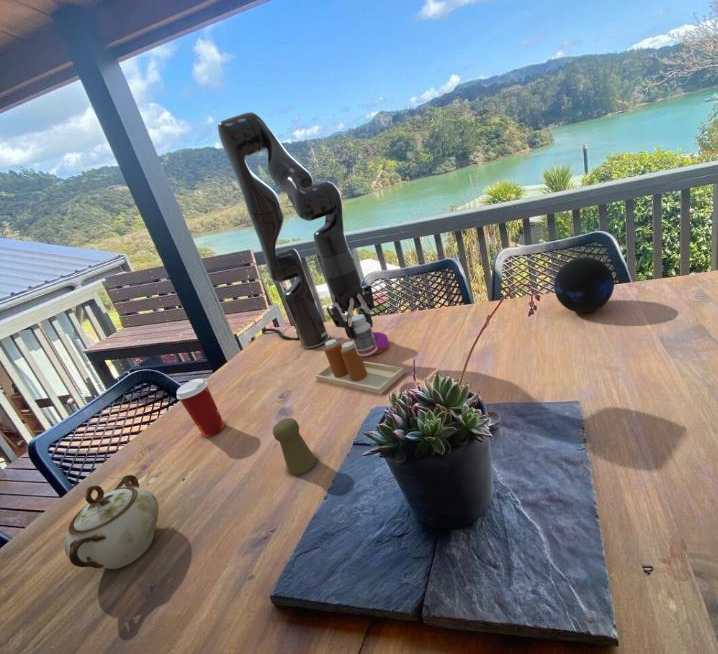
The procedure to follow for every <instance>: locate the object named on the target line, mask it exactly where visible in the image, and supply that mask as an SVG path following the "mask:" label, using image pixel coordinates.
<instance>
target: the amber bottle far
mask: <svg viewBox="0 0 718 654" xmlns="http://www.w3.org/2000/svg"><path fill="white" fill-rule="evenodd" d="M342 348H343V347H342V343H341V342H340V341H338V340H337V339H336V338H332V339H329V340H328V341H327V342H326V343H324V346H323V350H324V353H325V356H326V358H327V361H328V365H330V366H331V369H332V372H333V374H334V377H337V378H339V377H343V376H345V375H347V374H348V370H347V367H346V365H345V362H344V359H343V356H342V354H341V349H342Z"/></svg>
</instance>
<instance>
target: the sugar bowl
mask: <svg viewBox="0 0 718 654" xmlns="http://www.w3.org/2000/svg"><path fill="white" fill-rule="evenodd" d="M123 485H124V486H123ZM94 491H96V493H97V495H96V498H93V497H92V494H93V492H94ZM84 496H85V501H86V502H87V503H88V504H86V505H85V506H84V507H83V508H82V509H81V510H79V512H77V513H76V514H75V516H74V517H73V518H72V519H71V521H70V522H69V525H68V527H67V531H66V533H65V536H64V539H63V550H64V553H65V555H66V557H67V558H68V559H69V561H70V563H71V564H72V565H73V566H74V567H77V568H93V569H109V570H117V569H120V568H123V567H126V566H128V565H130V564H132V563H133V562H135V561H136V560H138V559H139V558H140V557H142V556H143V555H144V553H146V551H147V550H148V549H149V548H150V546H151V544H152V542H153V539H154V535H155V531H156V529H157V524H158V519H159V512H160V511H159V509H160V507H159V502H158V500H157V497H156V496H155V494H153V493H152V492H151V491H149V490H147V489H145V488H141V487H140V483H139V480H138V478H137V477H136V476H135V475H133V474H127V475H125V476H123V477H122V479H121V480H120V481H119V483H118V484H117V485H116V486H115V488H114V489H113V490H110V491H107V492H106V493H105V490H104V489H103V487H101V486H100V485H91V486H88V487H87V488H86V490H85V495H84Z"/></svg>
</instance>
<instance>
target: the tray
mask: <svg viewBox="0 0 718 654" xmlns="http://www.w3.org/2000/svg"><path fill="white" fill-rule="evenodd" d="M363 362H364V365H365V368H366V371H367V376H366V377H365V378H364V379H362V380H359V381H352V380H351V378H350V376H349V373H348V374H347V375H345V376H343V377H339V378H337V377H334V374H333V372H332V369H331V366H330V364H328V365H327V366H325V368H323V369H322V370H321V371H319V372H318V373H316V374H315V375H314V376H315V379H316V381H319V382H324V383H328V384H333V385H337V386H341V387H345V388H350V389H356V390H359V391H364V392H368V393H373V394H377V395H383V393H384V392H385V391H387V389H389V388H390V387H391V386H392V385H393V384H394V383H396V382H397V380H399V379H400V378H401V377H403V375H404V374H405V373H406V371H405V368H404V367H401V366H395V365H389V364H383V363H377V362H372V361H371V362H370V361H365V360H363Z"/></svg>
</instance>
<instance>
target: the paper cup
mask: <svg viewBox="0 0 718 654" xmlns="http://www.w3.org/2000/svg"><path fill="white" fill-rule="evenodd" d="M208 383H209V382H207V381H205V379H203V378H195V379H192V380H190V381H188V382H186V383H183V384H182V385H181V386H179V387H178V388H177V390H176V399H177V400H179V401H180V403H181V404H182V405H183V407H184V409H185V410H186V412H187V413H188V415H189V416H190V418H191V420H192V421H193V422H194V424H195V426H196V427H197V428H198V430H199V431H200V433H201V434H202V436H203V437H205V438H209V437H212V436H215V435H217V434H218V433H220V432H221V431H222V430H223V429H224V428H225V423H224V421H223V418H222V416H221V413H220V412H219V409H218V407H217V404H216V402H215V400H214V397H213V396H212V393H211V391H210V389H209V386H208V385H209V384H208Z"/></svg>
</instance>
